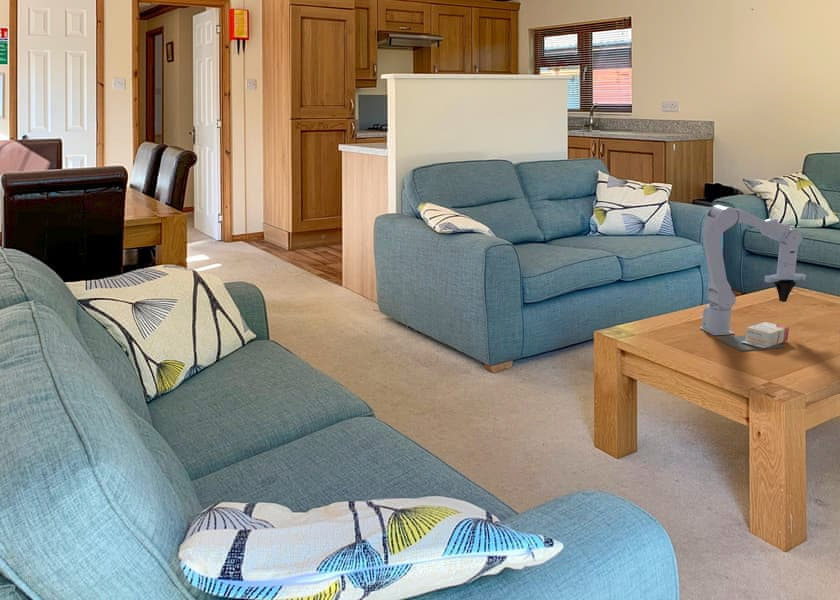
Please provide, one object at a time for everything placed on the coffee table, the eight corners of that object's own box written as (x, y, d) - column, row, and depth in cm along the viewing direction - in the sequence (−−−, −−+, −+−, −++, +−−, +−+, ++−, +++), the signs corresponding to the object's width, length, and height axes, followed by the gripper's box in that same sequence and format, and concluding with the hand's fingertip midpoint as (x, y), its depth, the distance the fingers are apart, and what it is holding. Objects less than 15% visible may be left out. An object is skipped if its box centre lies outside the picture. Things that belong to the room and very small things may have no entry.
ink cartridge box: (789, 326, 255) (765, 334, 246) (787, 340, 256) (763, 349, 248) (765, 320, 261) (740, 328, 253) (763, 334, 263) (739, 343, 254)
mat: (716, 338, 261) (716, 337, 261) (757, 335, 264) (757, 334, 263) (741, 351, 247) (741, 350, 247) (783, 347, 250) (784, 346, 250)
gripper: (775, 266, 258) (771, 305, 262) (813, 263, 261) (809, 302, 265) (762, 262, 265) (758, 300, 268) (799, 259, 268) (795, 297, 271)
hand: (782, 301), depth 267 cm, fingers closed
